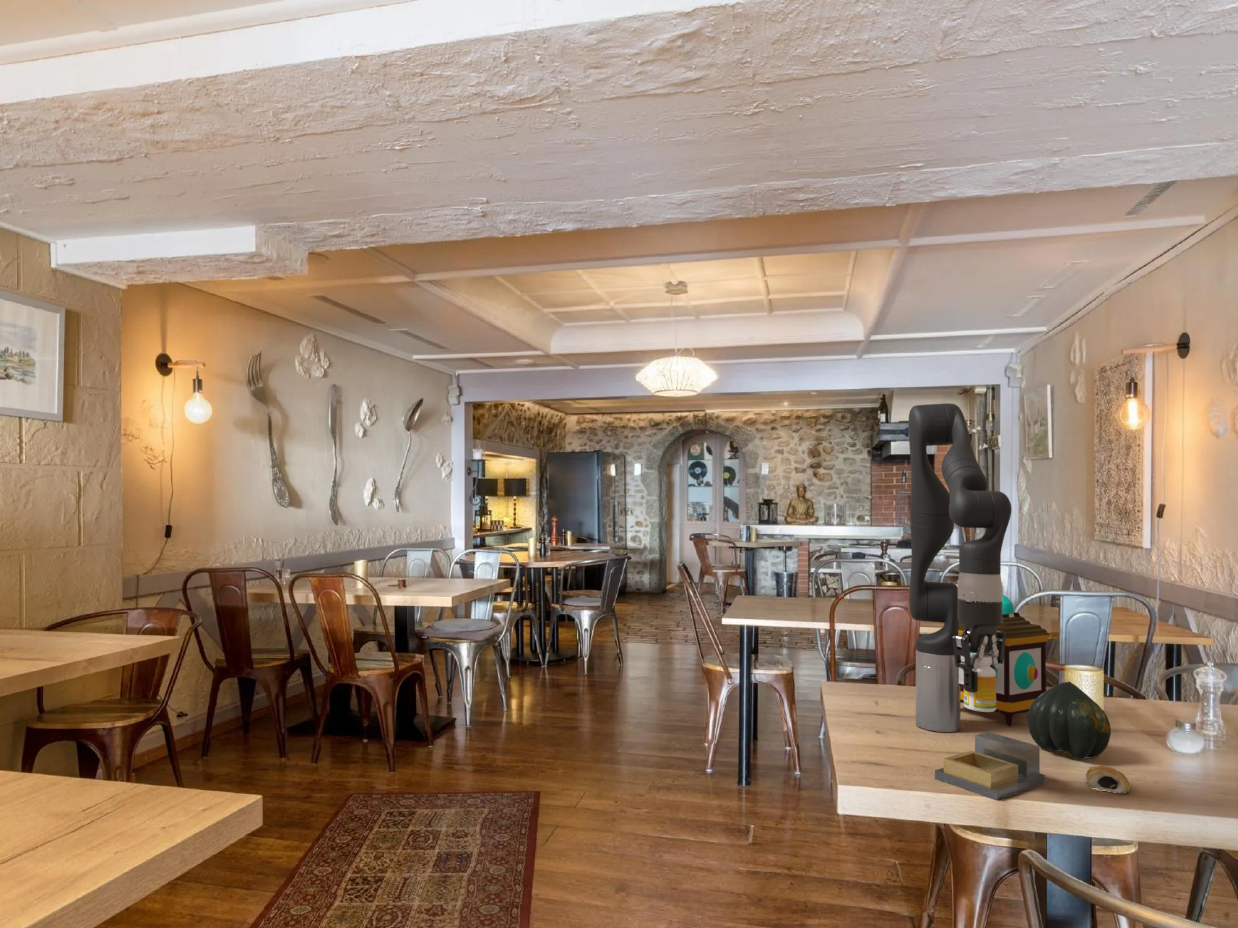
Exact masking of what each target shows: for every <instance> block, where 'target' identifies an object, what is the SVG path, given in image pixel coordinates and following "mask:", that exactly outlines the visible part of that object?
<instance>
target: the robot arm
mask: <svg viewBox="0 0 1238 928" xmlns="http://www.w3.org/2000/svg"><path fill="white" fill-rule="evenodd" d="M907 422H908V423H907V425H908V426H907V427H908V443H909V456H910V476H911V477H910V507H909V508H910V510H909V511H910V521H909V522H910V541H911V542H910V546H911V548H910V549H911V551H910V553H911V557H910V558H911V559H910V561H911V562H910V563H911V566H910V579H909V596H908V597H909V599H908V600H909V601H908V605H909V612H910V616H911V618H913V620H915V621H920V622H928V623H929V622H930V623H931V622H932V623H943V626H942V627H941V628H940V629H938V630H937V631H934V632H932V633H929V634H923V635H920V636H918V637H917V638H916V640H915V725H916V726H917V727H919V728H921V729H923V730H927V731H933V732H940V733H954V732H958V731H959V729H960V727H961V702H960V685H959V668H961V669H962V670H963V671H964V690H965V691H968V692H972V693H975V692H977V672H976V671H977V668H978V663H979V661H980V660H982V658H983V654H984V655H989V656H991V657H992V664H991V665H990V667H991V668H993V669H994V670H995V672H996V668H998V664H1003V661H1004V652H1005V642H1006V633H1005V632H1001V631H996V627H995V626H998V625H1001V624H1002V594H1003V583H1002V577H1001V576H1002V575H1001V572H1002V571H1001V567H1002V566H1001V561H1002V557H1001V555H1002V550H1003V549H1002V548H1003V544H1004V540H1005V536H1006V531H1007V529H1008V527H1009V523H1010V520H1011V516H1012V504H1011V503H1012V502H1011V500H1010V499H1009V496H1007V495H1006V494H1005V493H1004V492H1003V491H998V490H987V489H988V480H987V478H986V476H985V474H984V472H983V470H982V468H981V466H980V465H979V462H978V460H977V458H976V455H975V452H974V449H973V445H972V440H971V437H970V433H969V429H968V426H967V421H966V417H965V416H964V413H963V411H962V409H961V408H960V407H959V406H958V405H957V404H956V403H950V402H949V403H945V402H944V403H932V404H917V405H913V406H912V407H911V409H910V410H909V414H908V421H907ZM947 445H951V446H950V448H949V449H948V451H947V452H946V453H945V455H944V457H943V458H942V461H941V467H940V469H941V470H940V471H941V474H942V478H943V480H944V482H945V484H946V486H945V485H944V483H943V482H942V481H941V479H940V478H939V477H938V475H937V474H936V472H935V470H934V469H933V467H932V465H931V463H930V461H929V456H928V452H927V447H928V446H929V447H931V446H932V447H933V446H947ZM955 525H956V526H958V527H960V528H966V529H967V528H968V529H969V528H970V529H985V532H984V534H983V535H982V537H980V538H978V539H973V540H966V541H964V542H962V543H960V546H959V550H958V557H959V558H958V567H959V568H958V571H959V572H958V580H957V584H956V583H952V582H941V581H940V582H939V581H938V582H937V581H936V582H935V581H926V580H925V579H926V575H927V573H928V570H929V568H930V566H931V565H932V563H933V561H934V559H935V558H936V557H937V555H938V554H939V553H940V552H941V550H942V549H943V548H944V546H945V545H946V544H947V543H948V541H949V540H950V538H951V537H952V535H953V532H954V531H955V530H954V529H955V528H954V527H955ZM959 621H960V622H962V623H963V624H964V629H963V633H962V635H960V636H958V628H959ZM998 651H999V653H998ZM970 652H971V653H970ZM972 653H976V654H972ZM997 655H998V657H997ZM961 656H963V660H962V661H961ZM971 659H973V662H972V664H971Z"/></svg>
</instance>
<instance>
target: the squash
mask: <svg viewBox="0 0 1238 928" xmlns="http://www.w3.org/2000/svg"><path fill="white" fill-rule="evenodd" d="M1026 718H1027V727H1028V730H1029V731H1028V732H1029V734H1030V736H1031V738H1032V740H1033V741H1034V742H1035V743H1036V744H1035V745H1038V746H1039V747H1040V748H1041V749H1043V750H1045V751H1049V752H1058V751H1060V752H1062V753H1067V752H1068V754H1069V756H1071V757H1072V758H1073V759H1076V760H1082V759H1083V760H1084V759H1086V758H1088V759H1089V758H1096V757H1099V756H1100V755H1101V754H1103V752H1104V751H1105V750H1106V749H1107V747H1108V745H1109V742H1110V739H1111V732H1112V731H1111V730H1112V729H1111V723H1110V719H1109V717H1108V716H1107V714H1106V712H1105V711H1104V710H1103V709H1102V707H1101V706H1100V705H1099V704H1098V703H1097V702H1096V701H1094V700H1093V699H1092V698H1091V697H1090V696H1089V695H1088V694H1086V692H1084V691H1083V690H1082V689H1081V688H1080V687H1079V686H1078V685H1076V684H1074V683H1073V682H1072V681H1066V682H1061V683H1058V684H1056V685H1054V686H1052V687H1050V688H1049V689H1046V691H1045V692H1044V693H1042V694H1041V695H1040V696H1039V697H1037V698H1036V699H1035V701H1034V702H1033V703H1032V705H1031V707H1030V709H1029V711H1028V712H1027V717H1026Z"/></svg>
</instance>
